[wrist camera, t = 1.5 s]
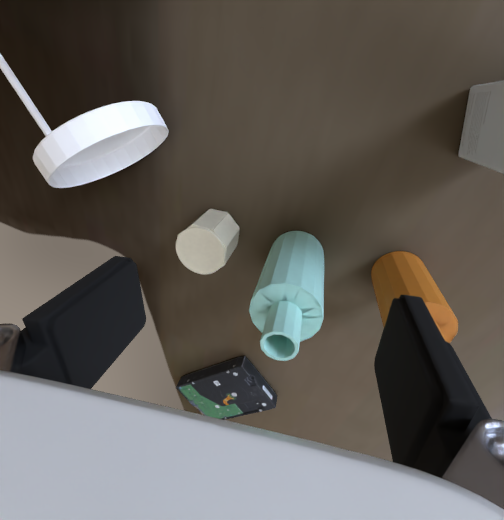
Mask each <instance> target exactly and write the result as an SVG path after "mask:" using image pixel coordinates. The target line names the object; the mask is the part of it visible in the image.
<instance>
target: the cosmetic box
mask: <svg viewBox="0 0 504 520" xmlns="http://www.w3.org/2000/svg"><path fill="white" fill-rule="evenodd" d="M458 156H459V157H460V158H463V159H466V160H468V161H471V162H474V163H476V164H479V165H481V166H484V167H487V168H489V169H492V170H494V171H497V172H500V173H502V174H504V81H498V82H493V83H487V84H481V85H475V86H472V87H471V88H470V92H469V98H468V104H467V109H466V115H465V120H464V126H463V131H462V137H461V143H460V148H459V154H458Z"/></svg>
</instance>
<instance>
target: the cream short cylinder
mask: <svg viewBox="0 0 504 520" xmlns="http://www.w3.org/2000/svg"><path fill="white" fill-rule="evenodd" d="M239 230H240V228H239V226H238V225H237V224H236V222H235V221H234V220H233V218H232V217H231V216H230V214H229V213H228V212H224V211H219V210H214V209H208V210H207V211H206V212H204V213H203V214H202V215H200V216H199V217H197V218H196V219H195V220H194V221H193V222H192V223H191V224H189V225H188V226H187V227H186V228H185V229H184V230H183V231H181V232H180V233H179V234H178V236H177V241H176V252H177V255H178V257H179V259H180V261H181V262H182V263H183V264H184V266H186V267H187V268H188V269H190V270H191V271H193V272H196V273H199V274H211V273H214V272H216V271H217V270H219V269H220V268H221V267H223V266H224V265H225V264H226V262H227V260H228V259H229V257H230V256H231V254H232V253H233V251H234V249H235V248H236V246H237V245H238V238H239Z"/></svg>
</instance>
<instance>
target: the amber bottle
mask: <svg viewBox="0 0 504 520" xmlns="http://www.w3.org/2000/svg"><path fill="white" fill-rule="evenodd" d="M371 277H372V283H373V287H374V291H375V295H376V299H377V303H378V306H379V310H380V314H381V318H382V322H383V326H384V327H385V323H386V320H387V317H388V313H389V310H390V307H391V303H392V300H393V299H394V298H399V297H400V295H402V294H403V295H410V296H418V297H421V298H422V299H423V301H424V303H425V305H426V306H427V308H428V310H429V312H430V314H431V316H432V318H433V320H434V322H435V323H436V325H437V327H438V329H439V331H440V333H441V335H442V337H443V338H444V340H445V342H448V343H450V342H451V341H452V339H453V338H454V337H455V335H456V334H457V331H458V321H457V319H456V317H455V315H454V313H453V312H452V310H451V308H450V307H449V305H448V303H447V302H446V300H445V298H444V297H443V295H442V293H441V292H440V290H439V288H438V287H437V285H436V284H435V282H434V280H433V279H432V277H431V275H430V274H429V272H428V270H427V269H426V267H425V265H424V264H423V262H422V261H421V260H420V259H419V258H418V257H417V256H416V255H414V254H412V253H409V252H405V251H395V252H391V253H388V254H385V255H384V256H382V257H380V258H379V259H378V260H377V261H376V262H375V264H374V265H373V267H372V271H371Z"/></svg>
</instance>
